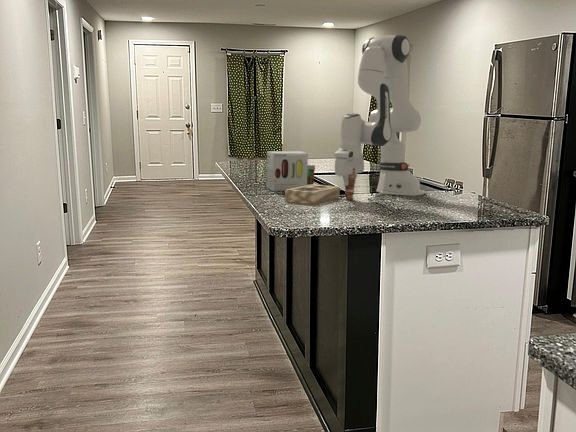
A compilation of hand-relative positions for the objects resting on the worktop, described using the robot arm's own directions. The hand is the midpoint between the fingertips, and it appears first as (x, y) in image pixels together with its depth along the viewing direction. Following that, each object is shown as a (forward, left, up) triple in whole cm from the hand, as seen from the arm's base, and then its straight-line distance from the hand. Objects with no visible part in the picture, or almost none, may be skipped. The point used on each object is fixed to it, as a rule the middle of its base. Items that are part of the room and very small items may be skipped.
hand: (349, 184), depth 252 cm
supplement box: (+40, -11, -7) cm, 42 cm away
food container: (+44, -33, -7) cm, 55 cm away
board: (+13, +9, -7) cm, 17 cm away
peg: (0, 0, -7) cm, 7 cm away
